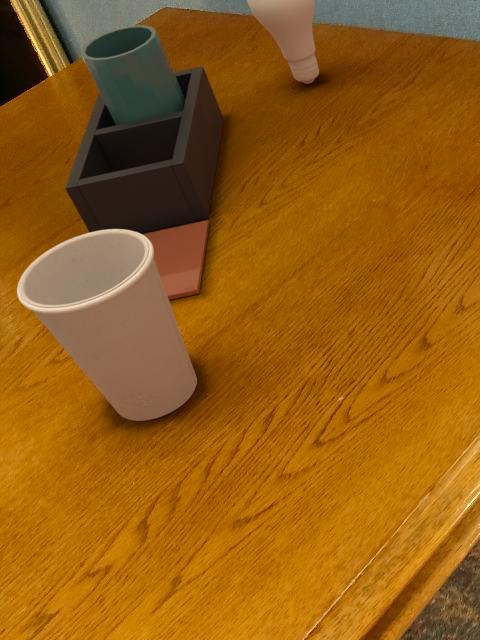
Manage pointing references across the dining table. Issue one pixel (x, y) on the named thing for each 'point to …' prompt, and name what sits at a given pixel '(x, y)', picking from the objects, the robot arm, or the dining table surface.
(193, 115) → the divided storage box
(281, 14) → the lightbulb
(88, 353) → the dixie cup
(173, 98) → the cup
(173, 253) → the coaster
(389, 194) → the dining table surface
